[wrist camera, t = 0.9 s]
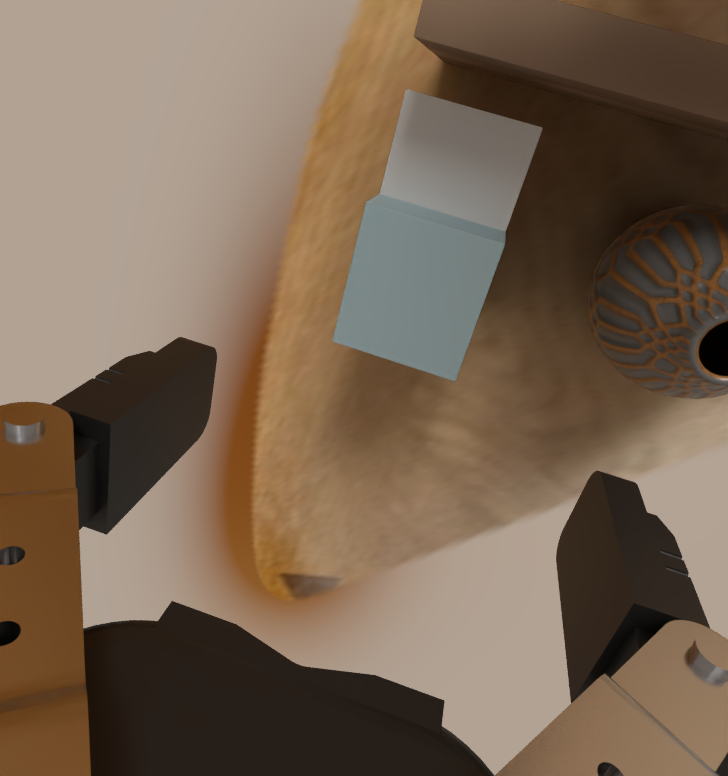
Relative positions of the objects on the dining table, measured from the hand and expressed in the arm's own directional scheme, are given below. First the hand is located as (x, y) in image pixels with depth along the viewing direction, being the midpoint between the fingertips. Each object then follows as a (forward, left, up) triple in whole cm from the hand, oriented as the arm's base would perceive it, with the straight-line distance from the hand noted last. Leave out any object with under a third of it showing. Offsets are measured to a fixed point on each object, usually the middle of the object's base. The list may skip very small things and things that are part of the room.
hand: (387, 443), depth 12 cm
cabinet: (-2, -1, -17) cm, 17 cm away
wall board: (-8, +6, -17) cm, 20 cm away
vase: (-2, +9, -17) cm, 19 cm away
